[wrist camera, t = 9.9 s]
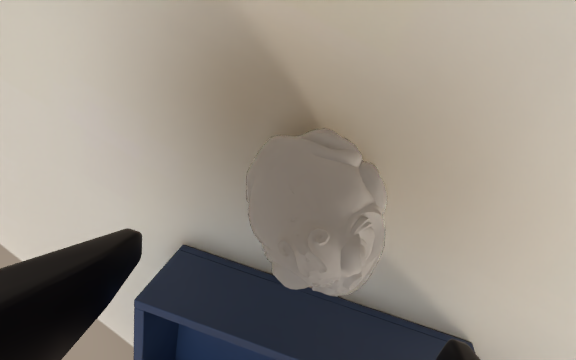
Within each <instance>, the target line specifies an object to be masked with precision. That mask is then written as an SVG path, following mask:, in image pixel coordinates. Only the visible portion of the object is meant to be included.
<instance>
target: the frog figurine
mask: <svg viewBox="0 0 576 360" xmlns="http://www.w3.org/2000/svg"><path fill="white" fill-rule="evenodd" d="M246 185H247V189H246V199H247V202H248V204H249V208H248V209H249V214H248V215H249V221H250V225H251V227H252V230H253V232H254V234H255V236H256V237H257V239H259V241H260V242H261V243H262V244H263V251H264V252H265V256H267V260H269V261H270V262H271V263H272V273H273V274H274V276H275V277H276V278H277V279H278V280H279V281H280V282H281V283H282V284H283V285H284V286H285V287H287V288H289V289H296V290H297V289H304V288H307V287H312V290H313V291H318V292H321V293H324V294H326V295H330V296H343V295H347V294H350V293H352V292H354V291H357V290H358V289H359V288H360V287H361V286H362V285H363V284H364V283H365V282H366V280H367V279H368V278H369V276H370V275H371V273H372V272H373V270H374V268H375V266H376V264H377V263H378V261H379V259H380V256H381V254H382V251H383V248H384V242H385V225H384V219H383V213H384V211H385V208H386V205H387V192H386V188H385V184H384V182H383V180H382V178H381V176H380V175H379V172H378V169H377V168H376V167H375V166H374V165H373V164H371V163H368V162H364V161H363V160H362V155H361V153H360V151H359V150H358V149H357V147H356V146H355V145H354V144H353V143H351V142H350V141H348V140H347V139H345V138H343V137H341V136H339V135H338V134H337V133H335V132H334V131H333V130H330V129H326V128H323V129H317V130H313V131H309V132H307V133H305V134H304V135H300V136H297V137H296V136H283V135H278V136H273V137H271V138H270V139H269V140H268V141H267V142H266V143H265V144H264V145H263V146H262V148H261V149H260V150H259V152H258V153H257V155H256V157H255V159H254V160H253V162H252V163H251V165H250V167H249V169H248V172H247V177H246Z"/></svg>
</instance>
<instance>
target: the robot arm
mask: <svg viewBox="0 0 576 360" xmlns="http://www.w3.org/2000/svg"><path fill="white" fill-rule="evenodd" d="M141 254H142V235H141V233H140V232H138V231H135V230H132V229H124V230H120V231H117V232H114V233H111V234H108V235H105V236H102V237H98V238H95V239H92V240H89V241H86V242H83V243H79V244H76V245H73V246H70V247H67V248H64V249H61V250H57V251H54V252H51V253H48V254H45V255H42V256H39V257H35V258H32V259H29V260H26V261H23V262H20V263H17V264H14V265H10V266H7V267H4V268H1V269H0V360H61V359H62V358H63V357H64V356H65V355H66V353H67V352H68V351H69V350H70V349H71V348H72V347H73V345H74V344H75V343H76V342H77V341H78V340H79V338H80V337H81V336H82V335H83V334H84V333H85V331H86V330H87V329H88V328H89V327H90V326H91V325H92V323H93V322H94V321H95V320H96V319H97V318H98V316H99V315H100V314H101V313H102V312H103V311H104V309H105V308H106V307H107V306H108V304H109V303H110V302H111V300H112V299H113V298H114V296H115V295H116V293H117V292H118V290H119V289H120V288H121V286H122V285H123V283H124V282H125V281H126V279H127V278H128V276H129V275H130V273H131V272H132V271H133V269H134V268H135V266H136V265H137V263H138V262H139V260H140V258H141ZM436 360H480V359H479V357H478V356H477V355H476V354H475V352H474V351H473V350H472V349H471V347H470V346H469V345H468V344H466V343H464V342H461V341H458V340H455V339H450V340H448V342H447V343H446V344H445V346H444V347H443V349H442V350H441V352H440V353H439V355H438V356H437V358H436Z"/></svg>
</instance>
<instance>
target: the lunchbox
mask: <svg viewBox="0 0 576 360" xmlns="http://www.w3.org/2000/svg"><path fill="white" fill-rule="evenodd" d="M134 307H135V308H134V360H436V358H437V356H438V355H439V353H440V352H441V350H442V349H443V347H444V346H445V344H446V343H447V342H448V340H450V339H455V340H458V341H461V342H464V343H466V344H468V345H469V346H470V347H471V349H472V350H473V351H474V348H473V345H472V343H471V342H468V341H465V340H462V339H459V338H456V337H453V336H450V335H447V334H444V333H441V332H438V331H436V330H433V329H430V328H427V327H424V326H421V325H418V324H415V323H412V322H409V321H406V320H403V319H400V318H397V317H394V316H391V315H389V314H386V313H383V312H380V311H377V310H374V309H371V308H368V307H365V306H362V305H359V304H356V303H353V302H350V301H347V300H344V299H341V298H339V297H336V296H330V295H326V294H324V293H321V292H318V291H313V290H312V288H309V287H307V288H304V289H297V290H296V289H289V288H287V287H285V286H284V285H283V284H282V283H281V282H280V281H279V280H278V279H277V278H276V277H275V276H274V275H271V274H268V273H265V272H262V271H259V270H256V269H253V268H250V267H247V266H244V265H242V264H239V263H236V262H233V261H230V260H227V259H224V258H221V257H218V256H215V255H212V254H209V253H206V252H203V251H200V250H197V249H195V248H192V247H189V246H186V245H182V246H181V248H180V249H179V250H178V251H177V252H176V253H175V254H174V255H173V257H172V258H171V259H170V260H169V261H168V262H167V263H166V265H165V266H164V267H163V268H162V269H161V270H160V271H159V272H158V274H157V275H156V276H155V277H154V278H153V279H152V280H151V282H150V283H149V284H148V285H147V286H146V287H145V288H144V290H143V291H142V292H141V293H140V294H139V295H138V296H137V297H136V299H135V300H134ZM474 352H475V351H474ZM475 354H476V353H475Z"/></svg>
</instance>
